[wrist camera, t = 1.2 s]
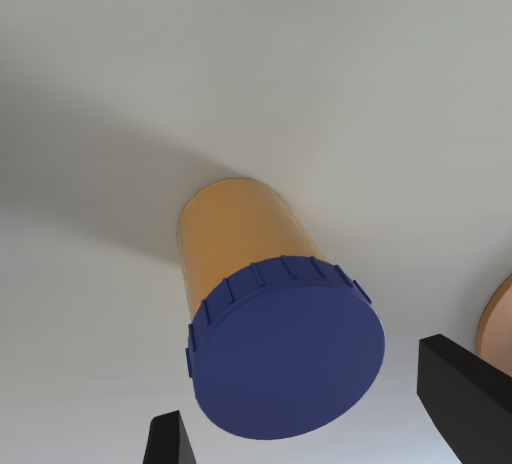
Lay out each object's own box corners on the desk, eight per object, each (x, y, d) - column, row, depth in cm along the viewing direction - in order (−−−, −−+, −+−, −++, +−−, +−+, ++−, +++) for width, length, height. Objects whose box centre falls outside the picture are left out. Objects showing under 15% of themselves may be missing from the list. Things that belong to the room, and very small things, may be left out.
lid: (361, 233, 13) (388, 260, 11) (365, 373, 16) (387, 409, 14) (165, 281, 12) (169, 317, 11) (206, 420, 15) (213, 463, 13)
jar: (282, 165, 19) (371, 263, 12) (294, 265, 22) (374, 396, 14) (164, 192, 18) (181, 313, 11) (190, 292, 21) (218, 444, 14)
